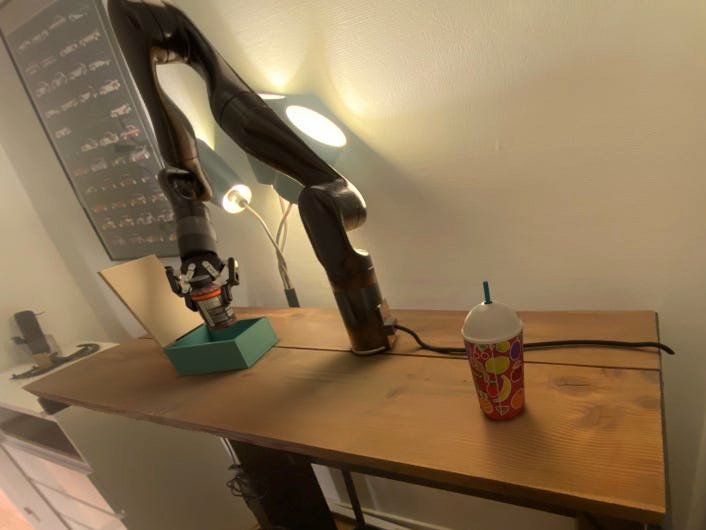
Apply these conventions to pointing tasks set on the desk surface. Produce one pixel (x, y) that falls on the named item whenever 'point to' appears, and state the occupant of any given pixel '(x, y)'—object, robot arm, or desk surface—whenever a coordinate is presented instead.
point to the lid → (151, 299)
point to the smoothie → (495, 356)
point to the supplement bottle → (211, 303)
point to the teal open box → (222, 347)
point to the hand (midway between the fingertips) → (210, 306)
